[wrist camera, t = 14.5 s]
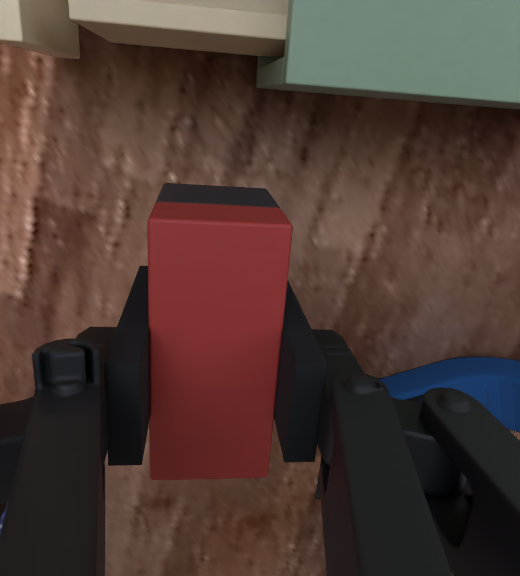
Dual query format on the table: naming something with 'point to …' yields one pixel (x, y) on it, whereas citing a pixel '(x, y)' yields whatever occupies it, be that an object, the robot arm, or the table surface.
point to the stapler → (214, 329)
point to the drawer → (147, 25)
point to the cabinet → (401, 51)
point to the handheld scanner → (466, 385)
